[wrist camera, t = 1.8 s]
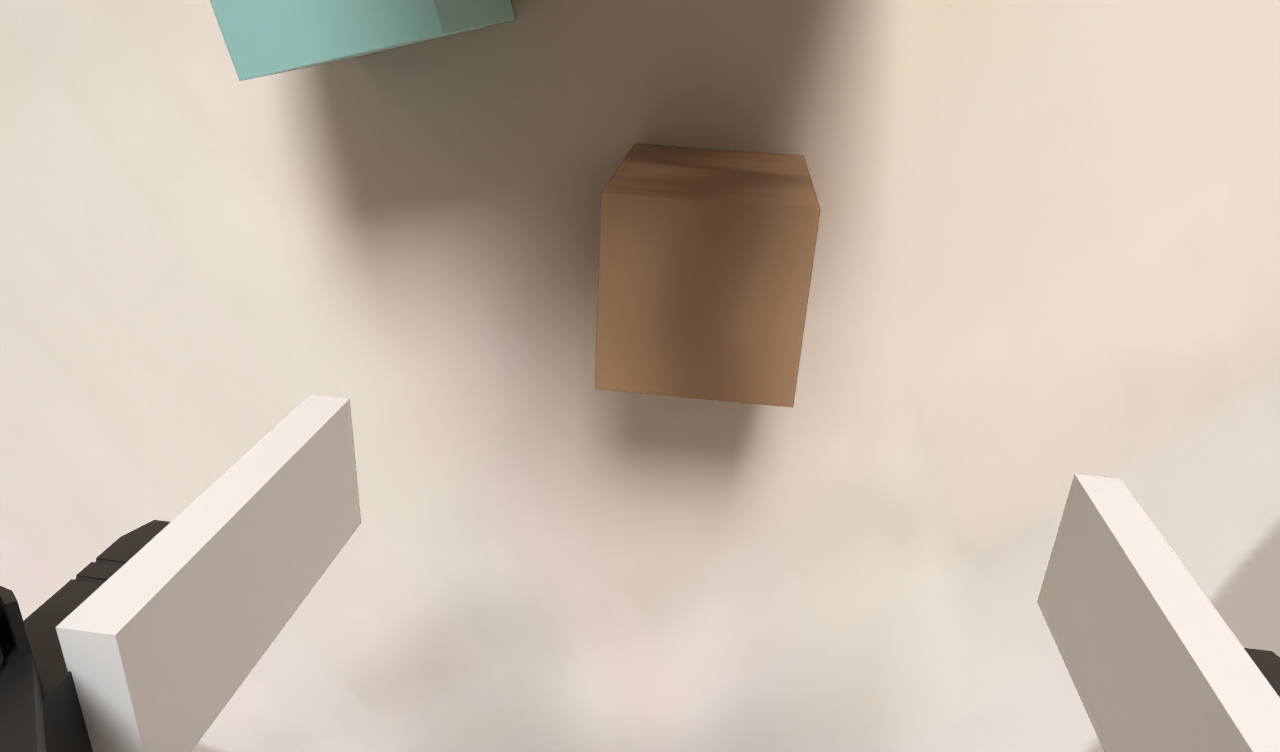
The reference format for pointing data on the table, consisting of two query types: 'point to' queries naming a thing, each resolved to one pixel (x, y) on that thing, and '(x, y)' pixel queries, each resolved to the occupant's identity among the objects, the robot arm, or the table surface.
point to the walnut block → (705, 274)
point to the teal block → (340, 28)
